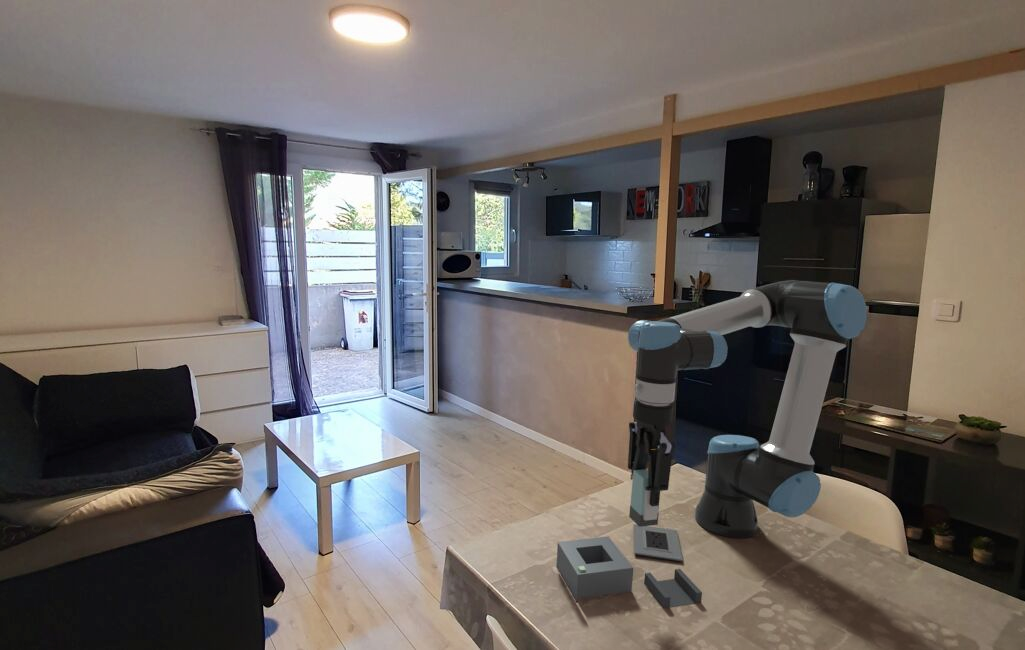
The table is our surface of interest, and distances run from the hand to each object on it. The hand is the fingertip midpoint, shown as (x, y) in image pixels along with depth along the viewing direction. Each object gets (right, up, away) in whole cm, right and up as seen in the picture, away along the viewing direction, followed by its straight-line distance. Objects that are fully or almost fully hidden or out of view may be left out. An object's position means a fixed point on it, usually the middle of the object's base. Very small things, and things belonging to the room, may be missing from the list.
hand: (643, 512), depth 108 cm
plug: (0, -2, 0) cm, 2 cm away
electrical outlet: (+8, -16, +19) cm, 26 cm away
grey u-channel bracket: (+6, -17, +1) cm, 18 cm away
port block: (-10, -16, +5) cm, 20 cm away
